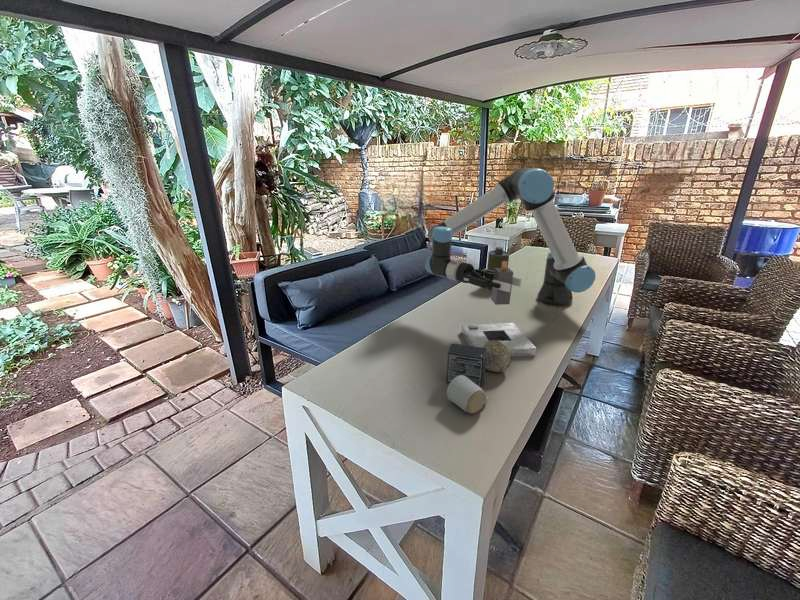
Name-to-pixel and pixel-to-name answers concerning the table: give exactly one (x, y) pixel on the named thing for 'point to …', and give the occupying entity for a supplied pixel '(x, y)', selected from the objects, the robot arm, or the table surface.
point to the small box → (466, 363)
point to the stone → (497, 356)
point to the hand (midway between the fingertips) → (515, 285)
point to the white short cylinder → (466, 394)
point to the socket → (499, 337)
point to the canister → (497, 259)
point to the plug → (504, 276)
